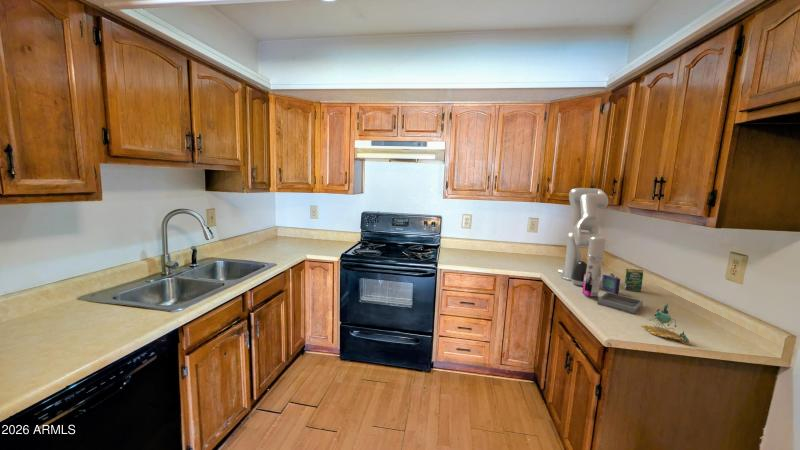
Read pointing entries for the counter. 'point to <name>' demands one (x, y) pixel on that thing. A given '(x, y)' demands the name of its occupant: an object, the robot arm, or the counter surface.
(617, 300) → the tray
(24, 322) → the counter surface
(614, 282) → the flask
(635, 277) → the coffee box
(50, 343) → the counter surface
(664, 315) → the frog figurine
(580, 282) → the dark grey domed cylinder
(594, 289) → the supplement box
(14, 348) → the counter surface
